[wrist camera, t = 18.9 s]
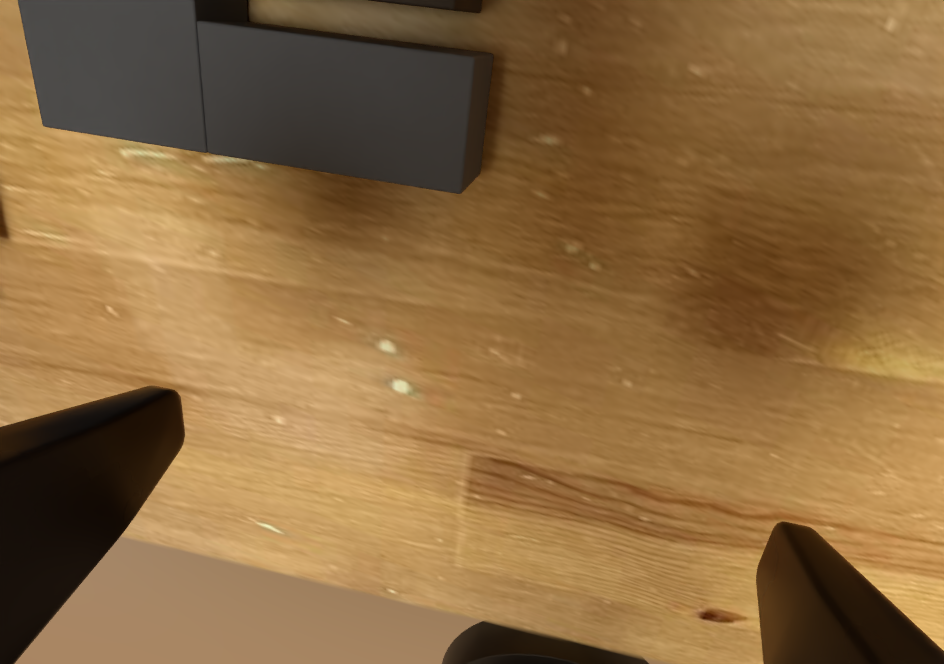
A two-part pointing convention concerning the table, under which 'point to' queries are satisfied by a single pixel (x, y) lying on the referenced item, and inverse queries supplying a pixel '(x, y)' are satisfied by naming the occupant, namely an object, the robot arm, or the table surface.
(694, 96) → the table surface
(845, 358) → the table surface
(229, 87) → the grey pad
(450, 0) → the black pad
